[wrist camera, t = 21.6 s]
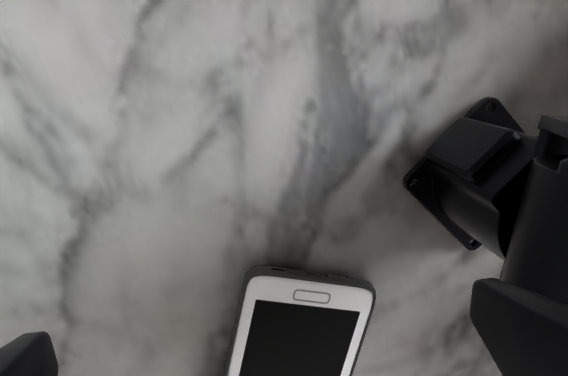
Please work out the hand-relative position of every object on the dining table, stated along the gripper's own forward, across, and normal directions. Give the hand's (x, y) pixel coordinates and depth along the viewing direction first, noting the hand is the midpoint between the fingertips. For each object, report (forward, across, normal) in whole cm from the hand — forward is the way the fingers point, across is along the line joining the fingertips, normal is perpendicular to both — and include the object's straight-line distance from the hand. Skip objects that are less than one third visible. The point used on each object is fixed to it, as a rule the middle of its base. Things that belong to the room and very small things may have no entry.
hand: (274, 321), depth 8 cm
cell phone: (+13, -1, +14) cm, 19 cm away
